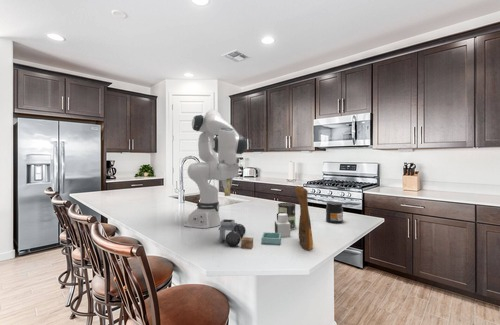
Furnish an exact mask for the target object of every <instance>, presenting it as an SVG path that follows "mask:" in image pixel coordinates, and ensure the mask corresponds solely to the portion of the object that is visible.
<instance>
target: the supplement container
mask: <svg viewBox="0 0 500 325" xmlns="http://www.w3.org/2000/svg"><path fill="white" fill-rule="evenodd" d="M343 217H344V208H343V203H342V202H339V201H327V202H326V207H325V221H326V222H327V223H331V224H341V223H343V222H344V218H343Z"/></svg>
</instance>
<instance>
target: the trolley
mask: <svg viewBox="0 0 500 325" xmlns="http://www.w3.org/2000/svg"><path fill="white" fill-rule="evenodd" d="M235 221H236V220H235V219H228V218H225V219H222V220H220V222H221V224H220V225H219V227H218V231H219V243H220V244H222V243H223V242H224V241H225V243H226V244H227V246H229V247H231V248H235V247H238V245H239V244H241V239H242V238H243V237H245V234H246V227H245V225H243V224H241V223H238V222H235ZM226 231H228V233H227V234H226Z"/></svg>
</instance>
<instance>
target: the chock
mask: <svg viewBox="0 0 500 325" xmlns="http://www.w3.org/2000/svg"><path fill="white" fill-rule="evenodd" d="M253 247H254V237H247V236H243V237H242V238H241V240H240V248H241V249H247V250H252V248H253Z"/></svg>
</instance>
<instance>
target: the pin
mask: <svg viewBox="0 0 500 325" xmlns="http://www.w3.org/2000/svg"><path fill="white" fill-rule="evenodd" d="M226 182H227V184H228V188H223V189H224V193H223V194H224V197H230V196H231V187H230V179H227V181H226Z"/></svg>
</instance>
